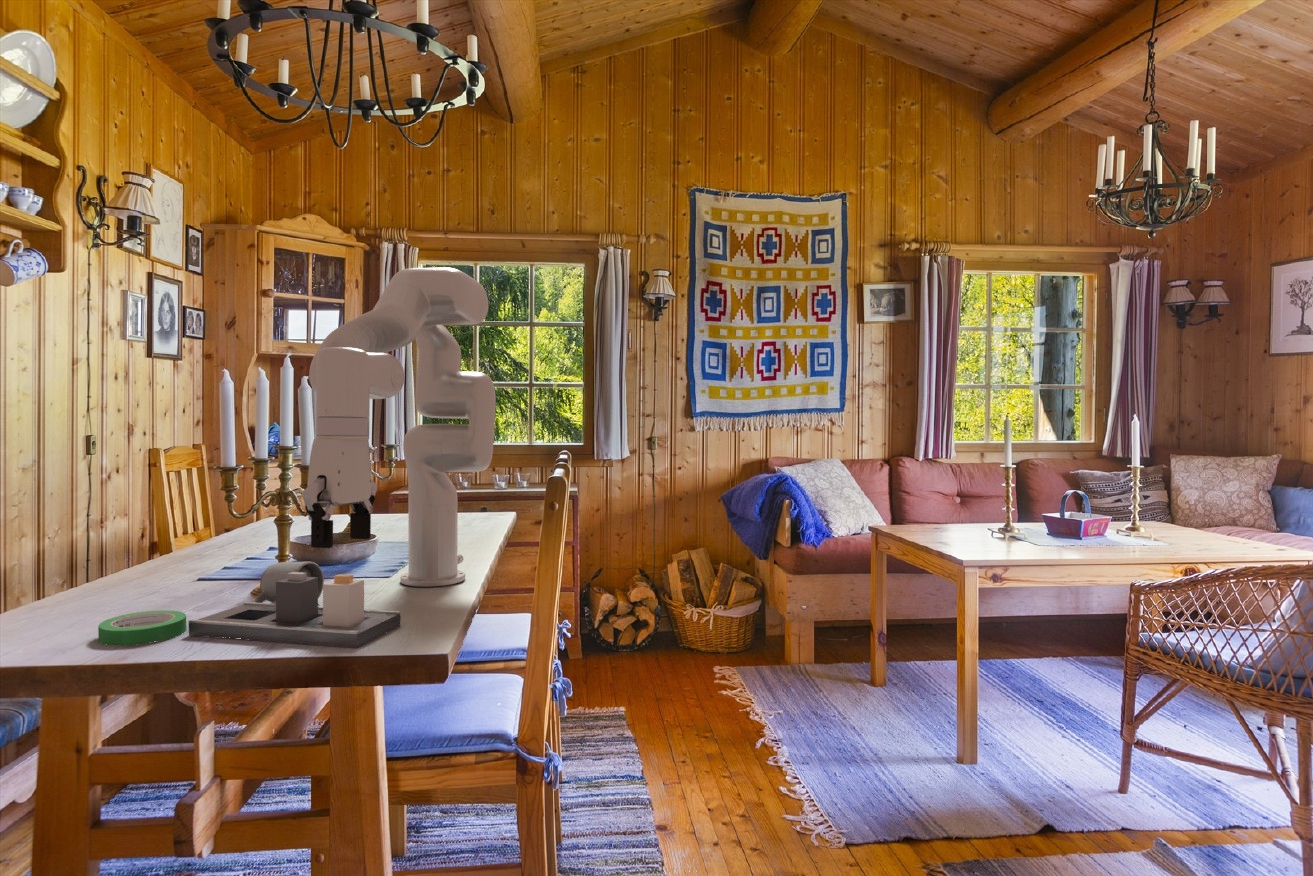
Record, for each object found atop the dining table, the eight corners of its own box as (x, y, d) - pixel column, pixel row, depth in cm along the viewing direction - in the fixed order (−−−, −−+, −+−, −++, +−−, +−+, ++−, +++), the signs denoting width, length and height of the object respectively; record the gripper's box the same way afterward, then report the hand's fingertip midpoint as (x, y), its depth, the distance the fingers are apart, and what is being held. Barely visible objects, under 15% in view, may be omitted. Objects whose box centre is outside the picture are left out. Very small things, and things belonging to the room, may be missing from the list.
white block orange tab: (339, 629, 121) (339, 572, 120) (364, 631, 120) (364, 573, 120) (323, 637, 116) (322, 577, 116) (348, 639, 116) (348, 579, 115)
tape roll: (126, 652, 110) (125, 633, 109) (82, 641, 115) (82, 623, 114) (202, 632, 119) (202, 615, 119) (159, 623, 124) (158, 607, 124)
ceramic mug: (288, 597, 142) (287, 555, 141) (325, 600, 139) (324, 558, 139) (241, 612, 132) (240, 567, 131) (280, 616, 129) (279, 570, 129)
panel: (245, 615, 128) (245, 602, 128) (400, 626, 123) (400, 611, 123) (188, 635, 117) (188, 620, 117) (356, 648, 111) (356, 632, 111)
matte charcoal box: (294, 626, 122) (293, 569, 122) (318, 628, 121) (317, 571, 121) (276, 633, 118) (275, 575, 118) (300, 635, 117) (300, 576, 117)
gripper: (353, 430, 126) (352, 535, 126) (282, 429, 109) (281, 550, 109) (395, 430, 125) (394, 536, 125) (330, 429, 108) (329, 552, 108)
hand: (341, 542), depth 117 cm, fingers open, 9 cm apart
